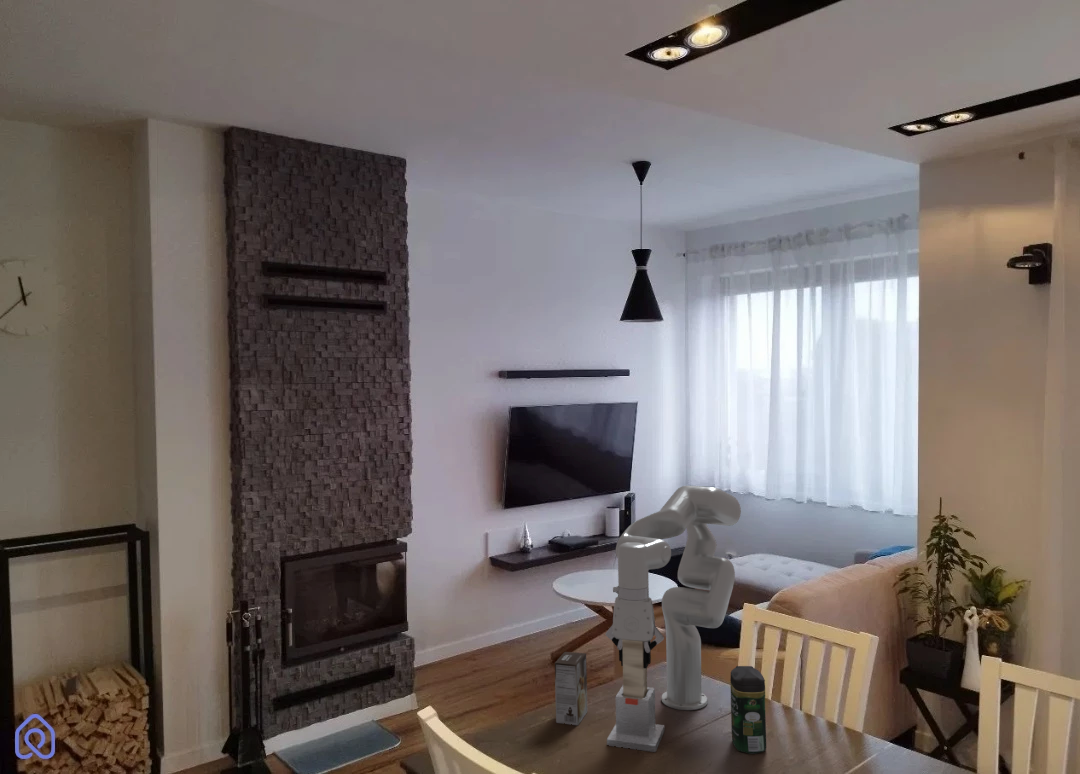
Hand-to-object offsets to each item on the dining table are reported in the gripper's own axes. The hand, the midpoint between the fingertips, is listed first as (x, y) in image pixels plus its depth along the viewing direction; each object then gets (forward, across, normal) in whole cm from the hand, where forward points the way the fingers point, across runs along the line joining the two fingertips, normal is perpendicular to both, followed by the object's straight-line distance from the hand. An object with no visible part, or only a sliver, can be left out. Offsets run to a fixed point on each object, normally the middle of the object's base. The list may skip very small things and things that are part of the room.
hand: (634, 664), depth 195 cm
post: (+12, 0, 0) cm, 12 cm away
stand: (+18, 0, 0) cm, 18 cm away
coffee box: (+19, -19, +7) cm, 28 cm away
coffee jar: (+19, +27, +4) cm, 33 cm away
